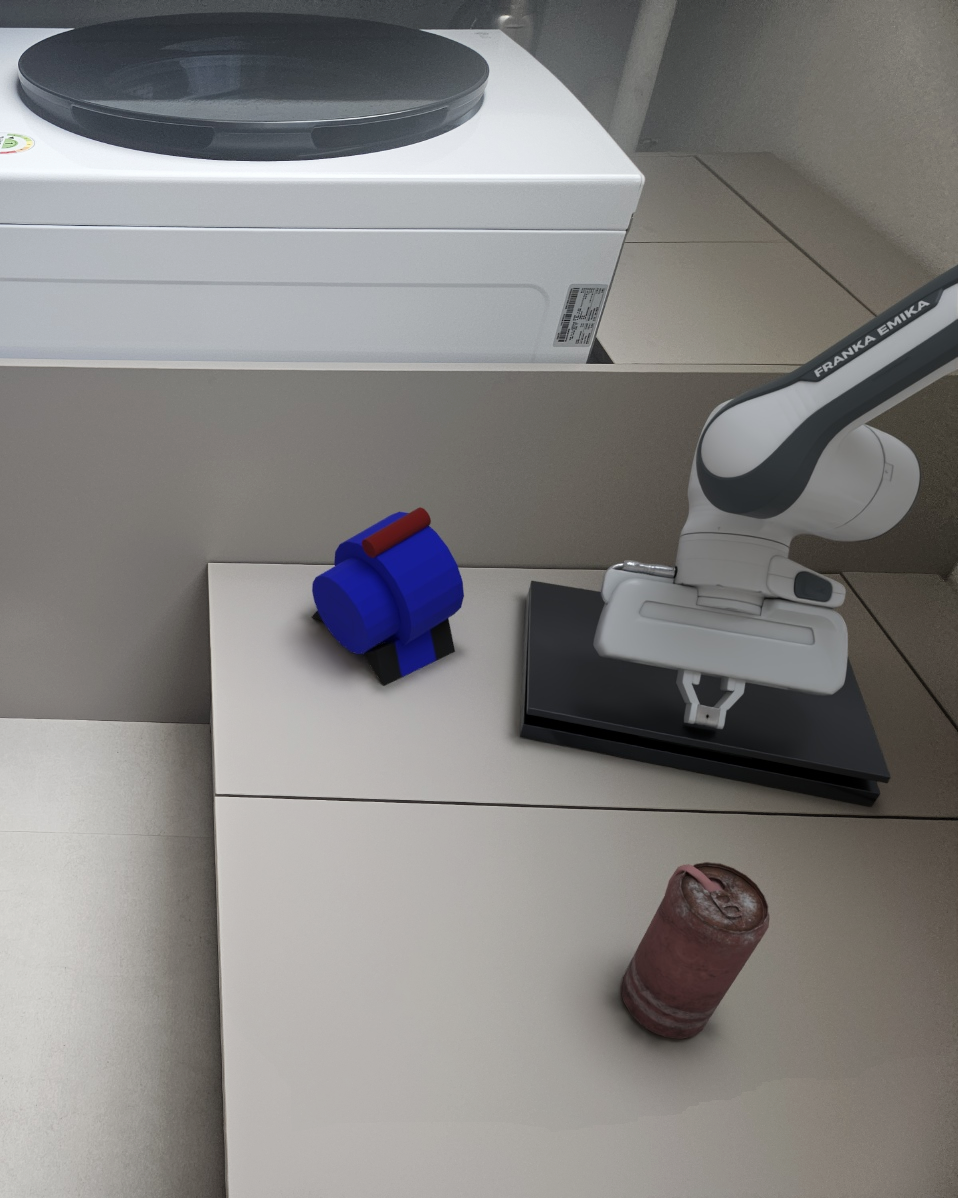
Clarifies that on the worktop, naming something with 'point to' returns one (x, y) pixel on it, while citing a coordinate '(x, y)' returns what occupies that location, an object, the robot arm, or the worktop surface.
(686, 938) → the can
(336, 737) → the worktop surface
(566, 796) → the worktop surface
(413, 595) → the alarm clock
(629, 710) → the laptop screen
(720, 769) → the laptop
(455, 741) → the worktop surface
